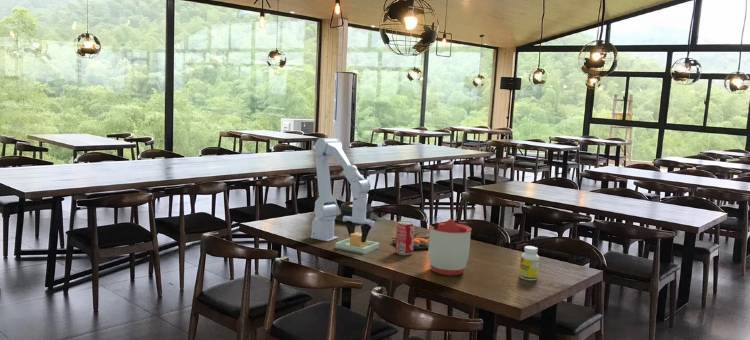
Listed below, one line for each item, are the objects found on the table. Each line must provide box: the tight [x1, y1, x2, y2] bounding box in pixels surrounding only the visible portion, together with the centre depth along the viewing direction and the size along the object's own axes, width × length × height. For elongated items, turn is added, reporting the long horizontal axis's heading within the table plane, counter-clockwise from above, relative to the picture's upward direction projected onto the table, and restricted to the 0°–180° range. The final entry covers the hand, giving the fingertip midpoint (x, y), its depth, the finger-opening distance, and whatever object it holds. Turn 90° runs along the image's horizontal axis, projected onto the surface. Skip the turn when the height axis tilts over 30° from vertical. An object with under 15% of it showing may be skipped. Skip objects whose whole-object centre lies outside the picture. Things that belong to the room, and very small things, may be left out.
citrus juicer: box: [425, 218, 473, 277], centre depth 224 cm, size 16×17×20 cm
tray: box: [334, 237, 380, 255], centre depth 250 cm, size 14×12×2 cm
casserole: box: [335, 201, 379, 223], centre depth 300 cm, size 25×19×8 cm
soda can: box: [395, 220, 415, 256], centre depth 245 cm, size 7×7×13 cm
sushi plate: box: [391, 231, 429, 250], centre depth 267 cm, size 29×30×4 cm
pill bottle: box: [519, 245, 540, 281], centre depth 221 cm, size 6×6×12 cm
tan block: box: [349, 231, 368, 247], centre depth 250 cm, size 5×5×5 cm
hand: (357, 240), depth 250 cm, fingers open, 5 cm apart
